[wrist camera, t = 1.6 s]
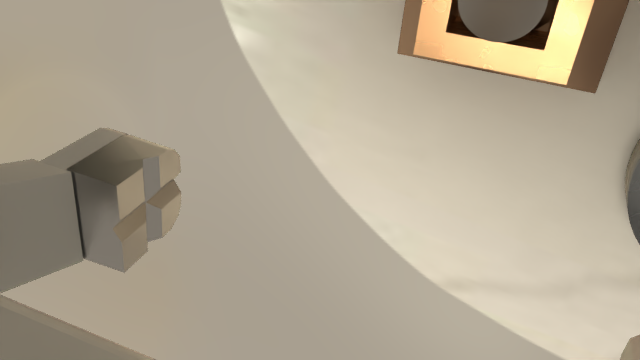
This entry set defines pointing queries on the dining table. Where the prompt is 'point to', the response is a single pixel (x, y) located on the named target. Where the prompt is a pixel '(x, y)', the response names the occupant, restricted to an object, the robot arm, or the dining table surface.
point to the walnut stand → (519, 19)
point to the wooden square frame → (509, 57)
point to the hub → (634, 190)
